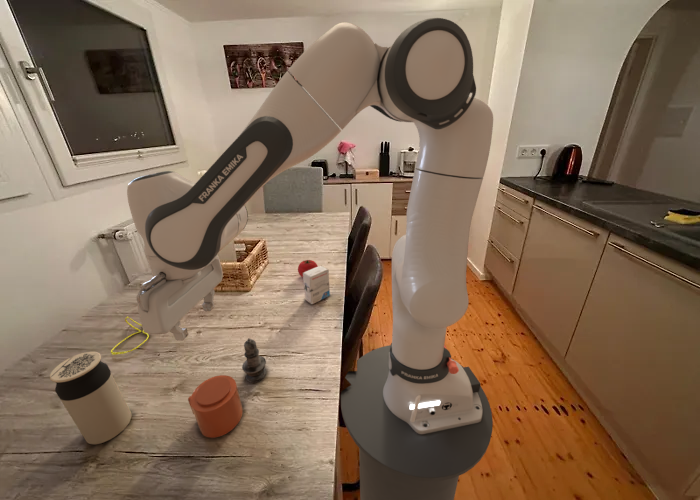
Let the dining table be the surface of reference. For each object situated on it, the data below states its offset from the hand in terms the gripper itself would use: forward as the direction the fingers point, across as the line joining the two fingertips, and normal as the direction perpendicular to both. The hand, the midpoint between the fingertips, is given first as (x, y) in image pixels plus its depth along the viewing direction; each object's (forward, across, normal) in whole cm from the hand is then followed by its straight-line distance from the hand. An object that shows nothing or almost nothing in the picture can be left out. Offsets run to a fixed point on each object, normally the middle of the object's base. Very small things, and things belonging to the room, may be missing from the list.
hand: (196, 322), depth 58 cm
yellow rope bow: (+22, +25, +39) cm, 51 cm away
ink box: (+23, +45, -15) cm, 53 cm away
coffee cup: (+23, -4, -2) cm, 23 cm away
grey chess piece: (+23, +9, -5) cm, 25 cm away
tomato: (+22, +62, -7) cm, 66 cm away
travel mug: (+23, -7, +22) cm, 32 cm away
